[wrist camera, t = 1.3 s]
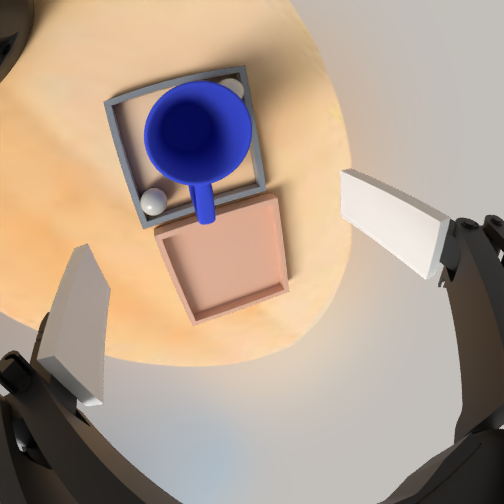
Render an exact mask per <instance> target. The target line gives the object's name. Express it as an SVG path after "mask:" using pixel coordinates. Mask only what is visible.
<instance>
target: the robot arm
mask: <svg viewBox="0 0 504 504" xmlns="http://www.w3.org/2000/svg"><path fill="white" fill-rule="evenodd" d="M33 19H34V6H33V2H32V0H0V82H1V81H2V79H3V78H4V77H5V76H6V75H7V73H8V72H9V71H10V69H11V68H12V67H13V65H14V64H15V62H16V60H17V59H18V57H19V55H20V54H21V52H22V50H23V48H24V46H25V44H26V42H27V39H28V37H29V34H30V31H31V28H32V24H33ZM341 217H342V218H344V219H345V220H347V221H348V222H350V223H351V224H352V225H354V226H355V227H357V228H358V229H360V230H361V231H362V232H364V233H365V234H367V235H368V236H369V237H371V238H372V239H374V240H375V241H376V242H378V243H379V244H381V245H382V246H383V247H384V248H386V249H387V250H389V251H390V252H391V253H392V254H394V255H395V256H396V257H398V258H399V259H400V260H402V261H403V262H404V263H405V264H407V265H408V266H409V267H410V268H412V269H413V270H414V271H415V272H417V273H418V274H419V275H420V276H422V277H423V278H424V279H425V280H427V279H428V278H430V277H432V276H433V275H435V274H436V272H437V269H438V265H439V262H441V263H442V264H443V265H444V268H443V271H442V274H441V277H440V281H439V283H438V287H441V284H442V282H444V281H445V283H444V286H443V287H445V288H447V292H448V297H449V301H450V305H451V310H452V315H453V320H454V326H455V331H456V338H457V344H458V351H459V359H460V370H461V382H462V402H463V406H462V412H461V415H460V417H459V419H458V421H457V424H456V428H455V438H454V445H452V446H451V447H449V448H448V449H446V450H445V451H443V452H441V453H440V454H438V455H436V456H435V457H433V458H431V459H430V460H429V461H428V462H426V463H425V464H424V465H423V466H421V467H420V468H419V469H418V470H416V471H415V472H414V473H412V474H411V475H410V476H408V477H407V478H406V479H405V481H404V482H403V483H402V484H401V485H400V486H399V487H398V488H397V489H396V490H395V491H394V492H393V493H392V494H391V495H390V496H389V497H388V498H387V499H386V500H385V501H383V502H380V503H378V504H504V429H499V428H500V427H501V426H502V425H504V255H503V258H502V260H501V262H500V260H499V258H498V256H499V253H500V250H502V251H503V252H504V221H503V220H502V219H501V218H499V217H498V216H495V215H487V216H486V217H485V220H484V224H483V225H482V226H479V224H478V223H477V222H475V221H473V220H471V219H467V218H458V219H457V220H456V221H453V220H451V219H450V217H449V216H447V215H445V214H443V213H442V212H440V211H438V210H436V209H434V208H433V207H431V206H429V205H427V204H425V203H423V202H422V201H420V200H418V199H416V198H414V197H412V196H410V195H408V194H406V193H404V192H402V191H400V190H398V189H396V188H394V187H392V186H389V185H387V184H385V183H383V182H381V181H379V180H377V179H374V178H372V177H370V176H368V175H365V174H363V173H361V172H358V171H356V170H354V169H347V170H342V171H341ZM110 290H111V289H110V287H109V285H108V283H107V281H106V280H105V278H104V276H103V274H102V272H101V270H100V268H99V266H98V264H97V262H96V260H95V258H94V256H93V254H92V252H91V250H90V247H89V245H88V243H87V244H85V245H82V246H80V247H77V248H75V249H74V251H73V253H72V255H71V258H70V260H69V262H68V265H67V267H66V270H65V272H64V275H63V277H62V280H61V282H60V285H59V287H58V290H57V293H56V296H55V298H54V301H53V304H52V307H51V310H50V312H48V313H47V314H46V316H45V317H44V319H43V320H42V322H41V324H40V328H39V331H38V333H39V334H38V335H37V338H36V342H35V345H34V349H33V352H32V356H31V360H30V364H29V363H28V362H27V361H26V360H25V359H24V358H23V357H22V356H21V355H20V354H19V352H18V351H11V352H8V353H7V354H6V355H5V356H4V357H3V358H2V359H1V360H0V384H1V385H2V386H3V387H4V388H5V389H6V390H8V391H9V392H10V393H9V394H8V395H6V396H4V397H3V396H2V395H1V394H0V504H182V503H181V502H179V501H178V500H176V499H175V498H174V497H172V496H170V495H169V494H168V493H167V492H165V491H164V490H163V489H161V488H160V487H159V486H157V485H156V484H155V483H153V482H152V481H151V480H150V479H149V478H147V477H146V476H145V475H144V474H143V473H141V472H140V471H139V470H138V469H137V468H135V467H134V466H133V465H132V464H131V463H130V462H129V461H128V460H127V459H126V458H124V457H123V456H122V455H121V454H120V453H119V452H118V451H117V450H116V449H115V448H114V447H113V446H112V445H111V444H110V443H109V442H108V441H107V440H106V439H105V438H104V436H103V435H102V434H101V433H100V432H99V431H98V430H97V429H96V428H95V427H94V426H93V425H92V423H91V422H90V421H89V420H88V419H87V418H86V416H85V415H84V414H83V413H82V412H81V411H80V410H79V409H77V408H76V406H77V399H78V400H79V401H80V402H82V403H83V404H84V405H85V406H94V405H99V404H103V373H104V350H105V335H106V323H107V314H108V305H109V297H110ZM17 443H18V444H20V445H22V449H23V452H22V451H20V450H19V447H18V445H17Z"/></svg>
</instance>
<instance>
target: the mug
mask: <svg viewBox="0 0 504 504" xmlns="http://www.w3.org/2000/svg"><path fill="white" fill-rule="evenodd" d="M251 139H252V122H251V117H250V114H249V111H248V109H247V107H246V105H245V104H244V102H243V101H242V100H241V98H240V97H239V96H238V95H237V94H236V93H235V92H233V91H232V90H231V89H229V88H227V87H225V86H223V85H221V84H218V83H215V82H210V81H192V82H187V83H184V84H181V85H178V86H176V87H174V88H172V89H171V90H169V91H168V92H166V93H165V94H164V95H163V96H162V97H161V98H160V99H159V100H158V101H157V102H156V103H155V105H154V106H153V108H152V109H151V111H150V113H149V115H148V118H147V120H146V124H145V130H144V142H145V147H146V151H147V154H148V156H149V158H150V160H151V162H152V163H153V165H154V166H155V167H156V169H157V170H158V171H159V172H160V173H162V174H163V175H164V176H166V177H167V178H169V179H171V180H172V181H175V182H177V183H181V184H185V185H189V190H190V195H191V199H192V203H193V206H194V210H195V213H196V216H197V219H198V222H199V223H200V224H202V225H206V224H211V223H213V222H215V220H216V216H215V205H214V196H213V190H212V185H211V183H214V182H216V181H219V180H221V179H223V178H224V177H226V176H228V175H229V174H230V173H232V172H233V171H234V170H235V169H236V168H237V167H238V166H239V165H240V164H241V162H242V161H243V159H244V158H245V156H246V154H247V152H248V150H249V147H250V144H251Z"/></svg>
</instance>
